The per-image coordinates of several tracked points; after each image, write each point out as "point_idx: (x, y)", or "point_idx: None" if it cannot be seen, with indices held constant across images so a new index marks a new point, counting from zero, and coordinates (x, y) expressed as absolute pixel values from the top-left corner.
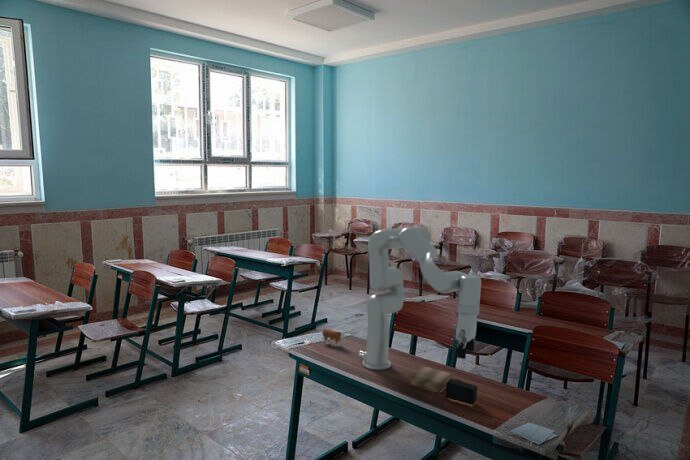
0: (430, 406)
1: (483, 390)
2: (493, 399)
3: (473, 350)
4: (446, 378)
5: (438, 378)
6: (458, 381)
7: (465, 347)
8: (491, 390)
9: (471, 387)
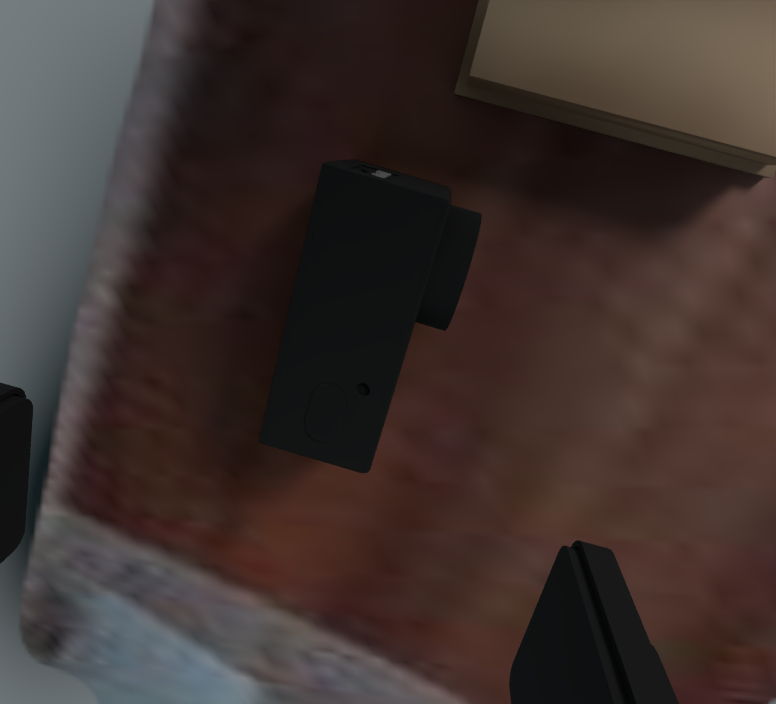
0: (159, 44)
1: (665, 456)
2: (512, 520)
3: (517, 700)
4: (661, 127)
5: (605, 32)
6: (397, 291)
7: (587, 572)
8: (686, 513)
9: (297, 423)
